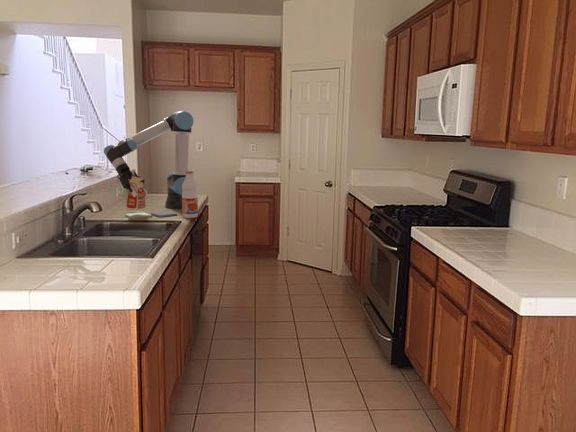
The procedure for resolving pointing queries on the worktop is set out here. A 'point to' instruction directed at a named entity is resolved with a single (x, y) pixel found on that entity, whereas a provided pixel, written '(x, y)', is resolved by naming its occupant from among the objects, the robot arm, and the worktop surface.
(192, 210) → the fruit juice
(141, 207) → the milk carton
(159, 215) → the slate mat
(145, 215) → the sage mat
